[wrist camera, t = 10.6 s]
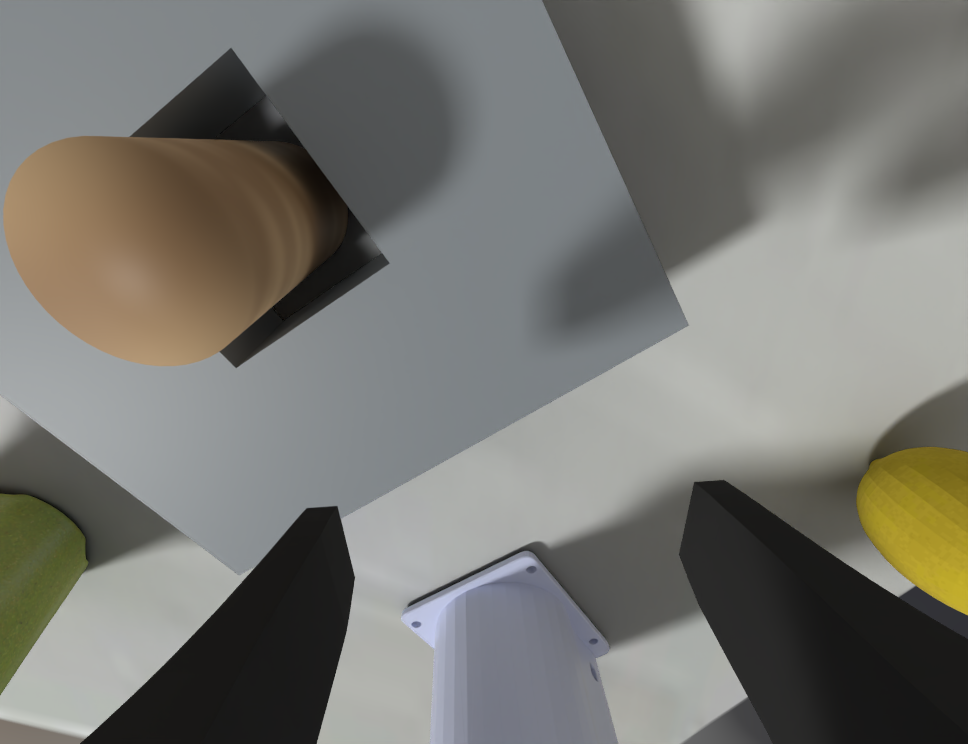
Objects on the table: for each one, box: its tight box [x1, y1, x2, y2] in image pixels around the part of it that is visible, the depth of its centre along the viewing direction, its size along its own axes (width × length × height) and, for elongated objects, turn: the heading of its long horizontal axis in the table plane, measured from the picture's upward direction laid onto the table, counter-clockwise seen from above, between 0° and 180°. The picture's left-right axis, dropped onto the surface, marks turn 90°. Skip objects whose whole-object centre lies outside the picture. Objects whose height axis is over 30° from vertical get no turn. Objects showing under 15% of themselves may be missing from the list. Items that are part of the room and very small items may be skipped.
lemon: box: [856, 447, 968, 615], centre depth 18 cm, size 6×6×8 cm
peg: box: [3, 136, 348, 366], centre depth 12 cm, size 4×4×8 cm
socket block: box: [0, 0, 689, 575], centre depth 13 cm, size 18×18×4 cm
